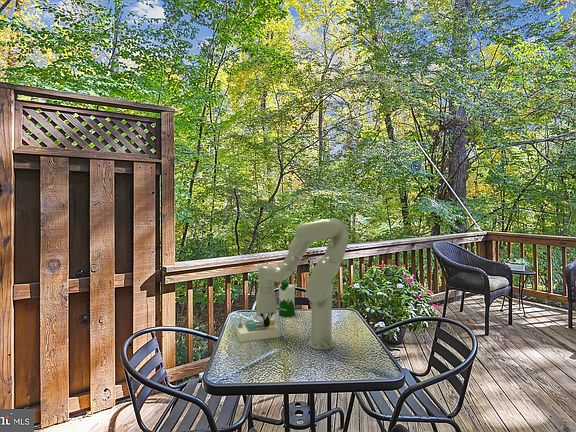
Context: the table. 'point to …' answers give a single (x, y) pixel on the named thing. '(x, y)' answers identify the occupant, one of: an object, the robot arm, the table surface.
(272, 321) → the button
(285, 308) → the milk carton
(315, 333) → the robot arm
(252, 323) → the slider teal
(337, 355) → the table surface
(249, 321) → the slider grey
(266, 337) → the panel
